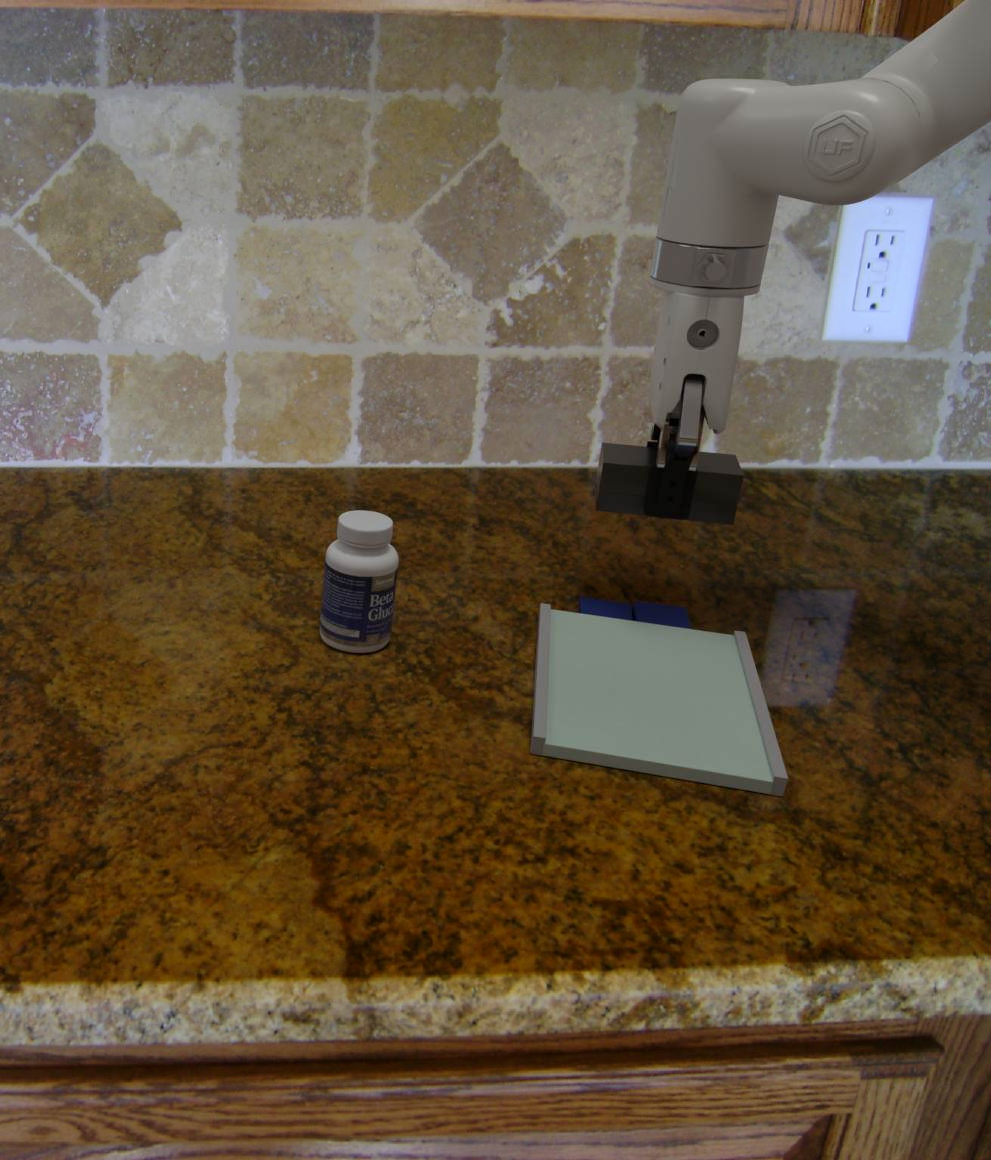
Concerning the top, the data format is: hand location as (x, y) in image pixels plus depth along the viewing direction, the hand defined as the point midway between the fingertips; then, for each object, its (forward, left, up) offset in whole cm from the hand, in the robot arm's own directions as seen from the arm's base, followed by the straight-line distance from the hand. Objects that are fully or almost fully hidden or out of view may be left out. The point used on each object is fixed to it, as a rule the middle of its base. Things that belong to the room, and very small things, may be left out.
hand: (663, 501), depth 91 cm
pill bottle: (+21, +13, -10) cm, 27 cm away
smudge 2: (-1, +2, -9) cm, 10 cm away
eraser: (0, 0, 0) cm, 0 cm away
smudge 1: (+3, +3, -10) cm, 10 cm away
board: (0, +15, -9) cm, 17 cm away
